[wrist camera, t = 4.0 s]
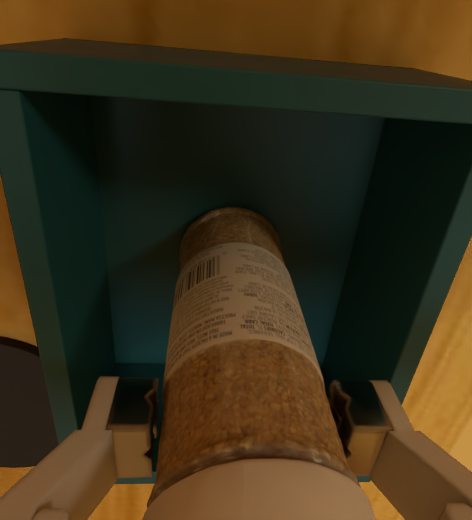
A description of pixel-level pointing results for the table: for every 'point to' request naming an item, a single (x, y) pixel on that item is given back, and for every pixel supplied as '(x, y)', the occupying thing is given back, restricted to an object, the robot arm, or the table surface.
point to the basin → (228, 200)
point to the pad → (24, 407)
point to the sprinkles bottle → (245, 389)
